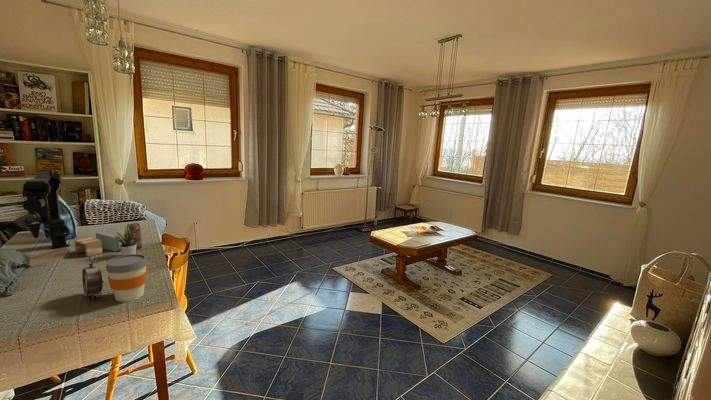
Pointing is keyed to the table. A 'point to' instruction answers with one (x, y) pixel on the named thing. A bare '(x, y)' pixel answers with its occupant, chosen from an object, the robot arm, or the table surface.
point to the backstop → (108, 241)
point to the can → (138, 241)
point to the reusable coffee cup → (127, 276)
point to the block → (88, 246)
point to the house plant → (128, 241)
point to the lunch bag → (67, 217)
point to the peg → (48, 256)
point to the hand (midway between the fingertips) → (44, 239)
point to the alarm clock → (92, 280)
